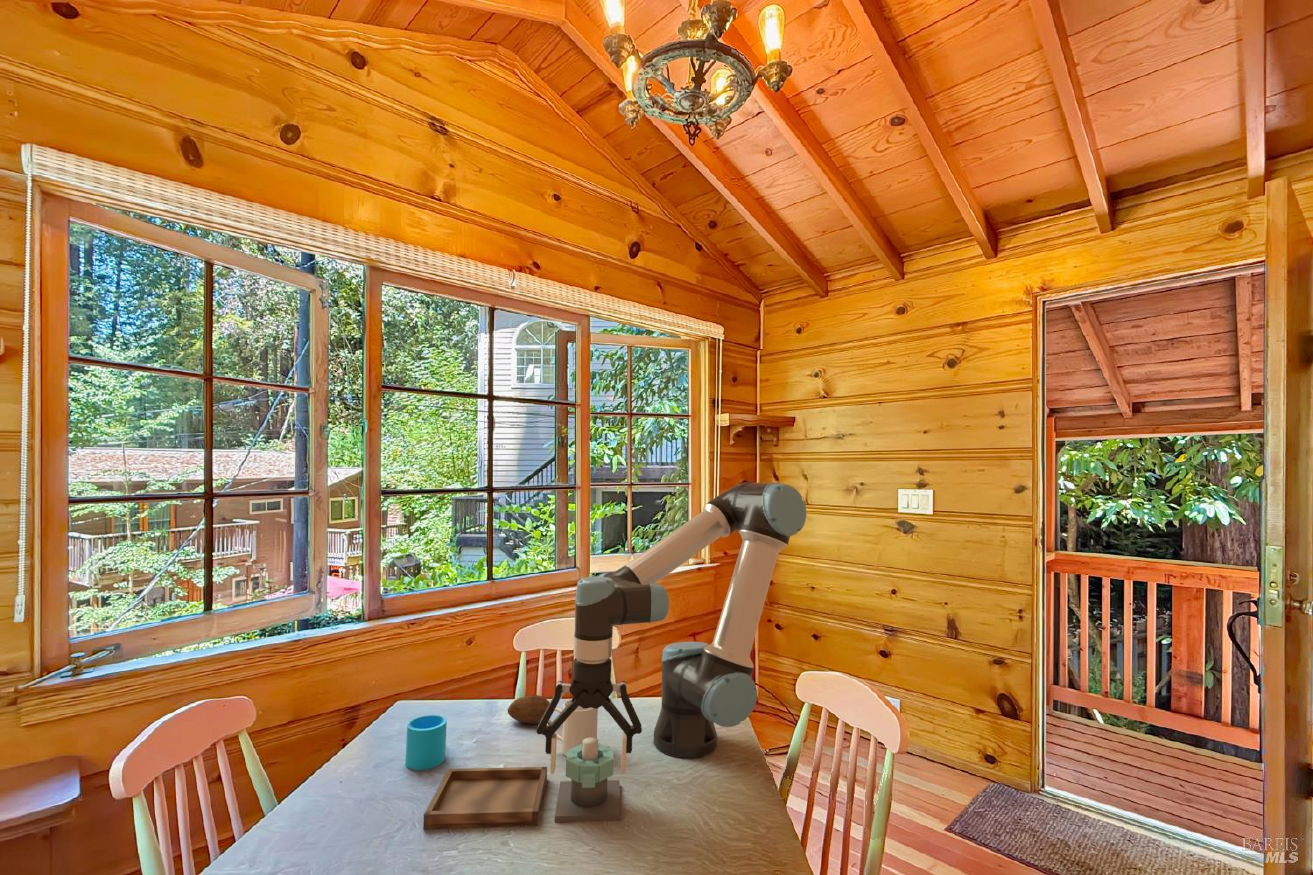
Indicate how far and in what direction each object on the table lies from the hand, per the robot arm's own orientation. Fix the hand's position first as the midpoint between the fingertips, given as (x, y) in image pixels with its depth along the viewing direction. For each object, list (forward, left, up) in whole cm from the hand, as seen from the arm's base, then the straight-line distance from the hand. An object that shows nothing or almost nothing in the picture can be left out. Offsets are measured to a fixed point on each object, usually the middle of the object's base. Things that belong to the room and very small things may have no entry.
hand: (588, 770), depth 112 cm
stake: (0, 0, -6) cm, 6 cm away
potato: (+16, -37, -6) cm, 41 cm away
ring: (0, 0, 0) cm, 0 cm away
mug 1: (+36, -20, -6) cm, 42 cm away
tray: (+19, -1, -6) cm, 20 cm away
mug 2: (+5, -21, -6) cm, 23 cm away
